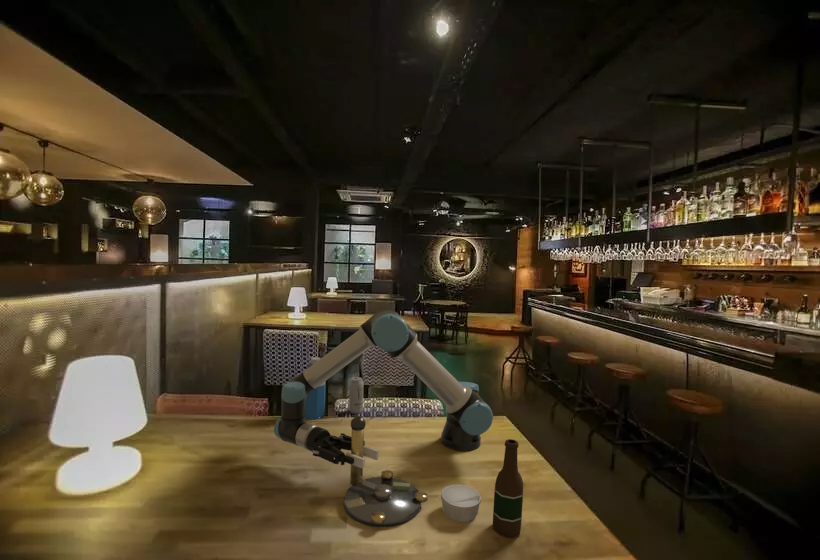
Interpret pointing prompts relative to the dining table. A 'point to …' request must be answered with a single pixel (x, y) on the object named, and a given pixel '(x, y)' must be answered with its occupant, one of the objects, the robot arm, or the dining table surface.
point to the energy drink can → (356, 395)
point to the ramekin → (460, 502)
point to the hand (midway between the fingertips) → (370, 459)
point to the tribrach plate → (384, 502)
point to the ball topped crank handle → (356, 474)
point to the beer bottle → (508, 494)
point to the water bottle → (315, 399)
